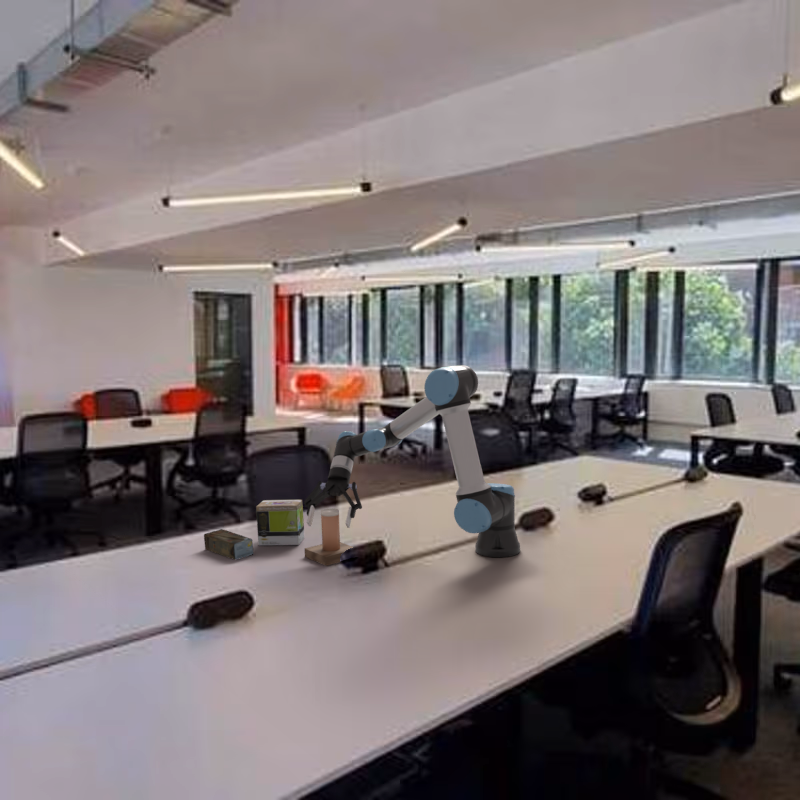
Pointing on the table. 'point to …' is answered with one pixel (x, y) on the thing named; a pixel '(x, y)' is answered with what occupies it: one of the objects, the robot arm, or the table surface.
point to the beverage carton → (228, 544)
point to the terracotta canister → (330, 529)
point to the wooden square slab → (325, 554)
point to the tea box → (280, 522)
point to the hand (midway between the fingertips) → (327, 525)
